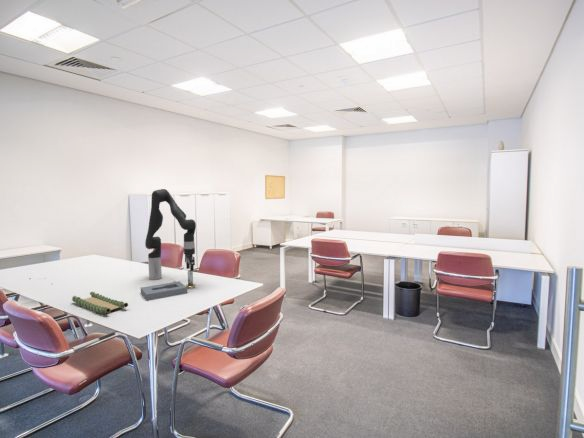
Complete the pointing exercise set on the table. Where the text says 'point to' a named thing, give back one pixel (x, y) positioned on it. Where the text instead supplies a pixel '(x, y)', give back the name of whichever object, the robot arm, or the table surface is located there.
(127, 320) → the table surface
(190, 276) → the steel peg
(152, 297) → the keyhole plate
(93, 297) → the stretcher
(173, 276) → the table surface
